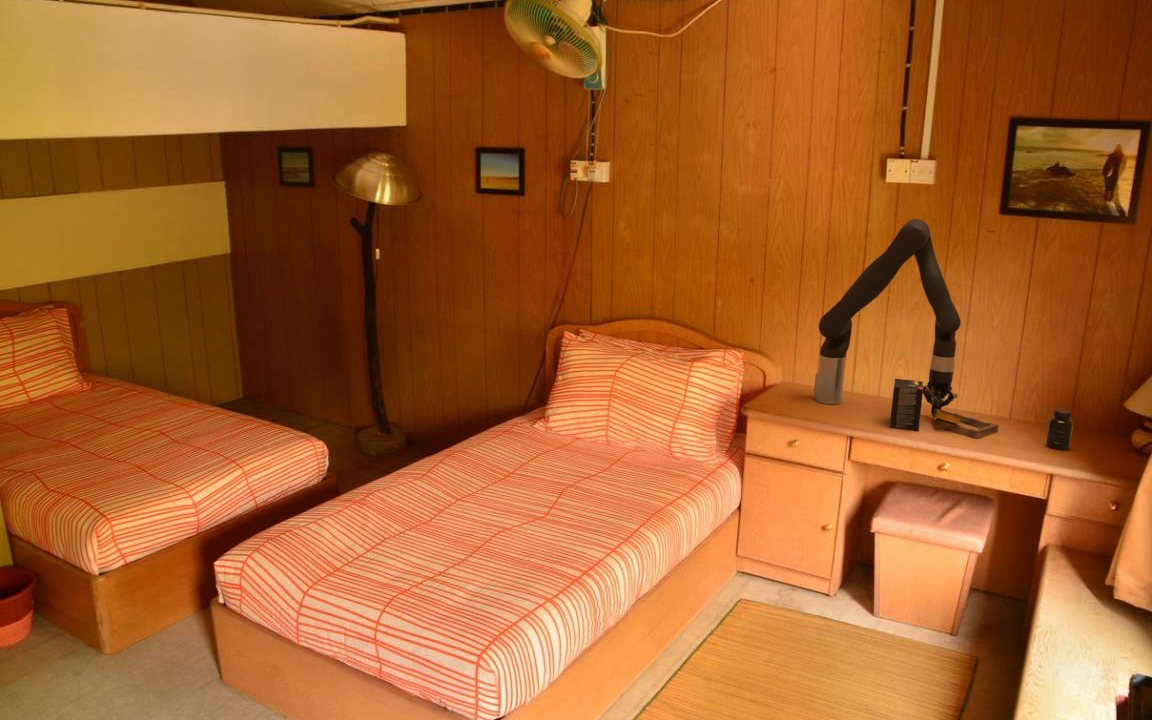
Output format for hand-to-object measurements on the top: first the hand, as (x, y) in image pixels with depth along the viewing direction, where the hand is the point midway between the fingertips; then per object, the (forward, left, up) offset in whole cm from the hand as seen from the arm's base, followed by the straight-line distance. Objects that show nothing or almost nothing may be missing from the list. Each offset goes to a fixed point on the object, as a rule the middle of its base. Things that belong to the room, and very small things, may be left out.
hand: (935, 416), depth 316 cm
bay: (+11, 0, -1) cm, 11 cm away
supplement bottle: (+38, +9, -1) cm, 39 cm away
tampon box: (-2, -14, -1) cm, 15 cm away
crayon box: (+3, 0, +1) cm, 3 cm away
